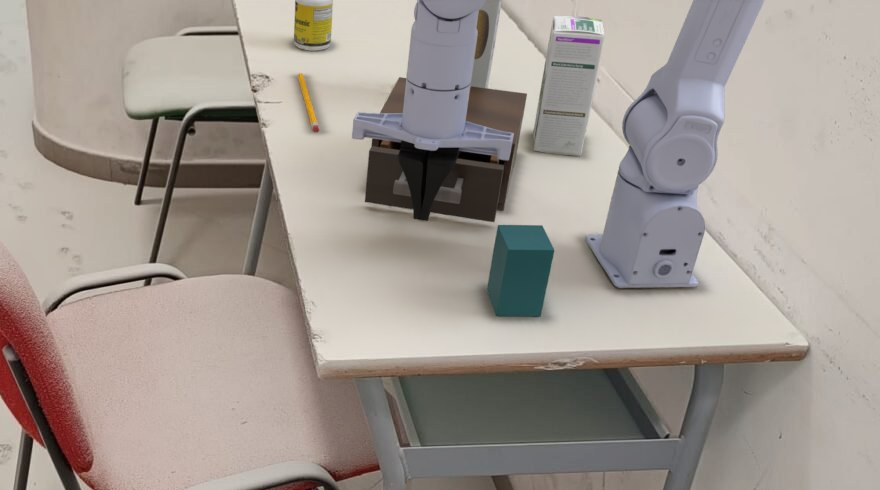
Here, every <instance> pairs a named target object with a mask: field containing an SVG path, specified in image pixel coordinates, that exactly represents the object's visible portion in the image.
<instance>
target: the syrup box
mask: <svg viewBox="0 0 880 490" xmlns="http://www.w3.org/2000/svg"><path fill="white" fill-rule="evenodd" d="M603 23H604V22H603V20H602V19H599V18H593V17H588V16H575V15H553V17H552V21H551V28H550V33H549V37H548V43H547V49H546V55H545V60H544V66H543V67H544V68H543V72H542V78H541V85H540V90H539V97H538V102H537V108H536V112H535V113H536V114H535V120H534V125H533V132H532V138H533V139H532V141H533V143H532V144H533V145H532V147H533V148H532V149H533V151H536V152H540V153H547V154H554V155H565V156H577V157H581V156H582V153H583V148H584V143H585V139H586V133H587V129H588V126H589V119H590V115H591V110H592V106H593V105H592V104H593V99H594V96H595V95H594V94H595V89H596V84H597V79H598V73H599V68H600V62H601V56H602V53H603V48H604V42H605V38H606V37H605V36H606V35H605V30H604V24H603Z"/></svg>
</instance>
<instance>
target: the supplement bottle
mask: <svg viewBox="0 0 880 490" xmlns="http://www.w3.org/2000/svg"><path fill="white" fill-rule="evenodd" d="M333 6H334V0H295V1H294V23H293V24H294V27H293V44H294V46H295V47H297V48H298V49H301V50H305V51H310V52H311V51H312V52H316V51H323V50H326V49H328V48H330V46H331V43H332V29H333V28H332V25H333V10H334V7H333Z"/></svg>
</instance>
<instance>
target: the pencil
mask: <svg viewBox="0 0 880 490" xmlns="http://www.w3.org/2000/svg"><path fill="white" fill-rule="evenodd" d="M297 78H298V81H299V85H300V90H301V93H302V97H303V100H304V104H305V107H306V112H307V115H308V118H309V123H310V125H311V129H312V132H313V133H319V132H320V127H319V123H318V120H317V117H316V113H315V111H314V106H313V103H312V100H311V96H310V93H309V89H308V86H307V83H306V79H305V75H304V74H303V72H298V75H297Z"/></svg>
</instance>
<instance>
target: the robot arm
mask: <svg viewBox="0 0 880 490" xmlns="http://www.w3.org/2000/svg"><path fill="white" fill-rule="evenodd" d="M765 1H766V0H692V2H691V5H690V7H689V10H688V11H687V15H686V17H685V19H684V22H683V24H682V26H681V28H680V31H679V33H678V35H677V38H676V40H675V42H674V45H673V48H672V50H671V52H670V55H669V57H668V60H667V62H666V63H665V64H664V65H663V66H661V67H660V68H658V69H657V70H656V71H654V73H652V74H651V76H650V78H649V81H648V83H647V85H646V87H645V89H644V90H643V92H642V93H641V94H639V96H638V97H637V98H636V99H635V100H633V101H632V102H631V104H630V105H629V106H628V107H627V109H626V111H625V113H624V115H623V118H622V124H621V130H622V134H623V137H624V139H625V141H626V142H627V144H628V145H629V146H628V149H627V152H626V154H625V156H624V157H623V158H622V159H621V160H620V162H619V165H618V170H617V174H616V178H615V182H614V187H613V191H612V194H611V199H610V202H609V206H608V212H607V214H606V215H607V216H606V219H605V224H604V228H603V231H602V234H587V235H585V238H584V240H585V242H586V243H587V245H588V246H589V248H590V250H591V251H592V252H593V254H594V256H595V258H596V259H597V261H598V262H599V263H600V265H601V267H602V268H603V270H604V271H605V273H606V274H607V276H608V278H609V279H610V281H611V282H612V284H613V286H615V287H616V288H619V289H632V288H633V289H635V288H636V289H637V288H640V289H641V288H697V287H698V286H699V280H698V279H697V277H696V276H695V275H694V274H693V272H694V270H695V265H696V262H697V259H698V256H699V252H700V249H701V246H702V243H703V239H704V235H705V233H706V221H705V218H704V216H703V214H702V212H701V210H700V207H699V204H698V190H699V186H700V185H701V184H703V182H705V181H706V180H707V179H708V178H709V177H710V176H711V174H712V173H713V171H714V170H715V167H716V165H717V162H718V156H719V150H718V140H719V135H720V132H721V131H722V129H723V126H724V124H725V117H726V113H725V111H726V110H725V109H726V107H725V106H726V105H725V97H726V95H725V90H726V85H727V83H728V81H729V78H730V76H731V74H732V72H733V70H734V68H735V66H736V64H737V61H738V59H739V57H740V55H741V53H742V50H743V48H744V46H745V44H746V42H747V39H748V37H749V35H750V33H751V31H752V29H753V26H754V25H755V22H756V20H757V18H758V16H759V13H760V12H761V10H762V7H763V5H764V2H765ZM485 2H486V0H416V3H415V6H414V9H413V18H414V22H413V23H412V25H411V29H410V39H409V40H410V41H409V50H408V59H407V67H406V68H407V69H406V77H405V78H406V88H405V97H404V107H403V113H380V112H363V111H358V112H356V114H355V116H354V118H353V119H352V120H353V121H352V133H351V139H353V140H359V141H363V140H364V139H365V138H367V139H372V138H373V139H380V140H387V141H394V142H401V147H400V151H399V154H398V160H399V164H400V166H401V168H402V170H403V172H404V175H405V177H406V180H407V183H408V186H409V189H410V193H411V198H412V204H413V210H412V218H413V220H417V221H424V222H428V221H429V219H430V215H431V214H432V213H431V208H432V204H433V201H434V199H435V197H436V195H437V193H438V191H439V189H440V187H441V185H442V184H443V182H444V181H445V179H446V178H447V176H448V175H449V173H450V172H451V170H452V169H453V167H454V165H455V164H456V161H457V158H458V155H459V152H460V151H465V152H472V153H479V154H486V155H493V156H497V159H500V160H507V161H508V160H509V157H510V153H511V148H512V142H513V136H514V133H511V132H504V131H500V130H496V129H492V128H488V127H485V126H481V125H478V124H474V123H471V122H467V121H466V114H467V107H468V100H469V93H470V86H471V78H472V71H473V64H474V57H475V50H476V43H477V36H478V30H477V28H476V27H477V20H478V13H479V9H481V8H482V6H483V5H484V4H485ZM430 151H431V153H430Z"/></svg>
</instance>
